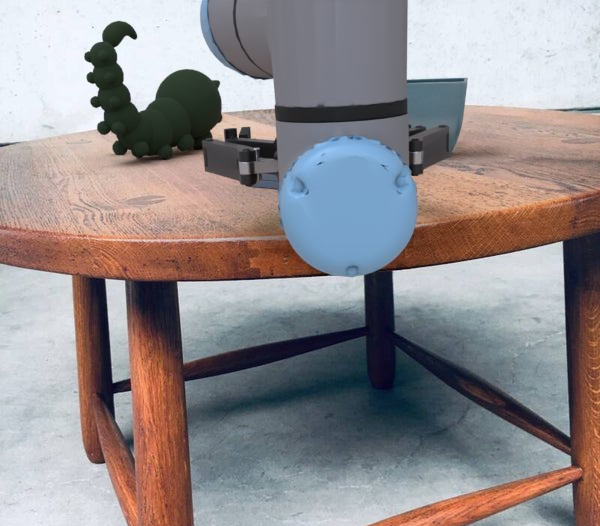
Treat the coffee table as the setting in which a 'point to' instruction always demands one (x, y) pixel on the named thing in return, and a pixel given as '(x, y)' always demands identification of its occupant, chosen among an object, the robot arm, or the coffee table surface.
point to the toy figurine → (161, 112)
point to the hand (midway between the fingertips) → (322, 138)
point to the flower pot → (437, 104)
